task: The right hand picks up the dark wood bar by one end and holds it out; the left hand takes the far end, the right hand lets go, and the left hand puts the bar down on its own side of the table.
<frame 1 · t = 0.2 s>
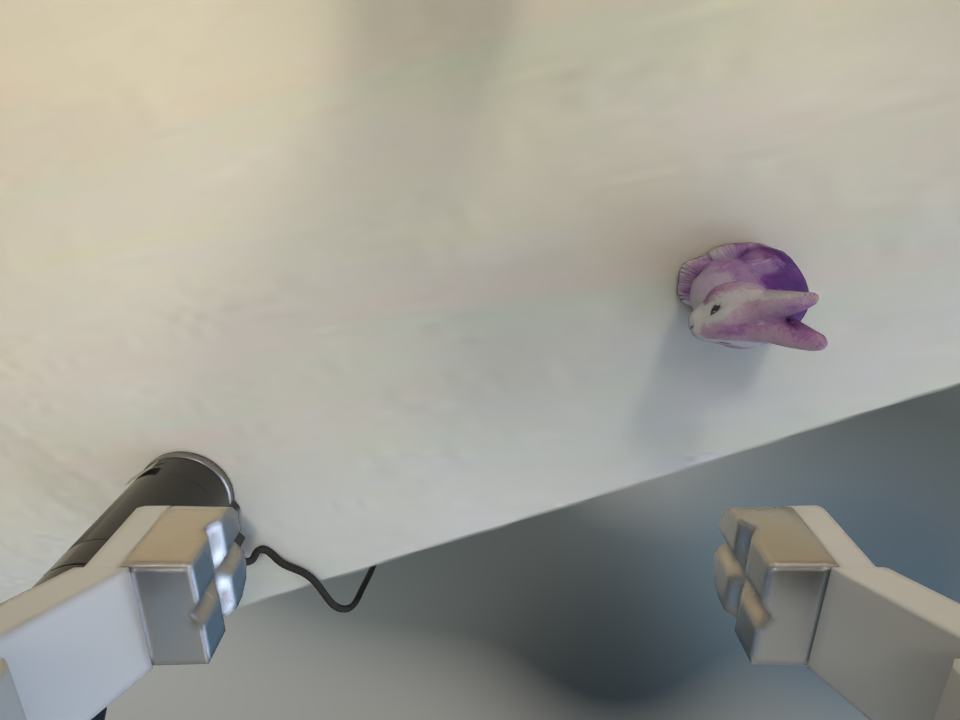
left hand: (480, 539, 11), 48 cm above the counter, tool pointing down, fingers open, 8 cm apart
figurine: (723, 287, 58), on the counter
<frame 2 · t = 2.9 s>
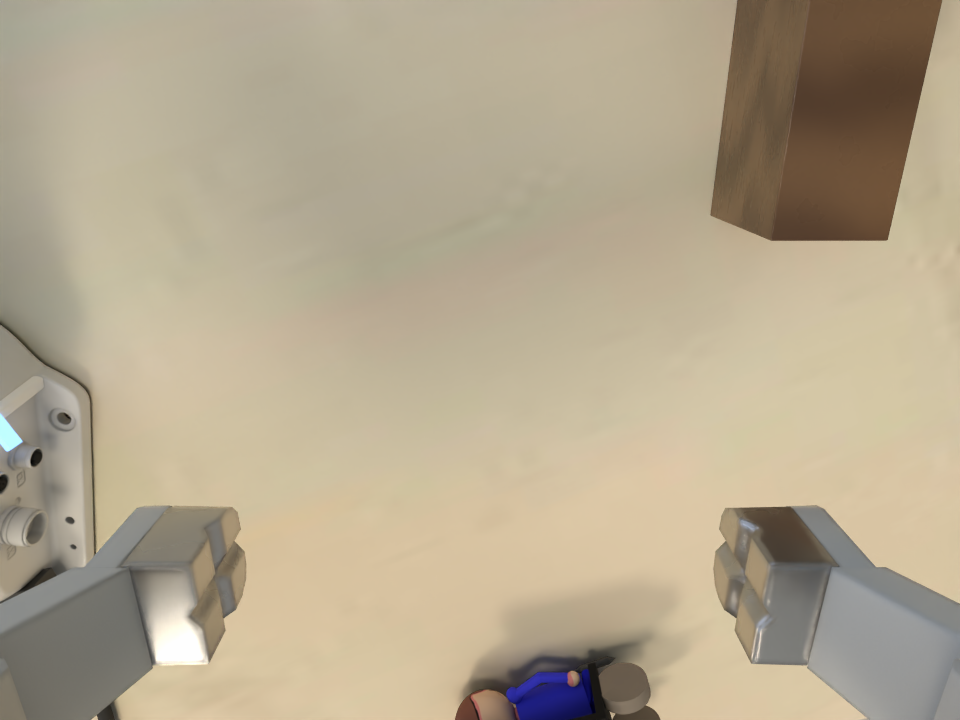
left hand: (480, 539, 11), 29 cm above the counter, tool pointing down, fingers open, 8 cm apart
figurine character: (548, 681, 50), on the counter
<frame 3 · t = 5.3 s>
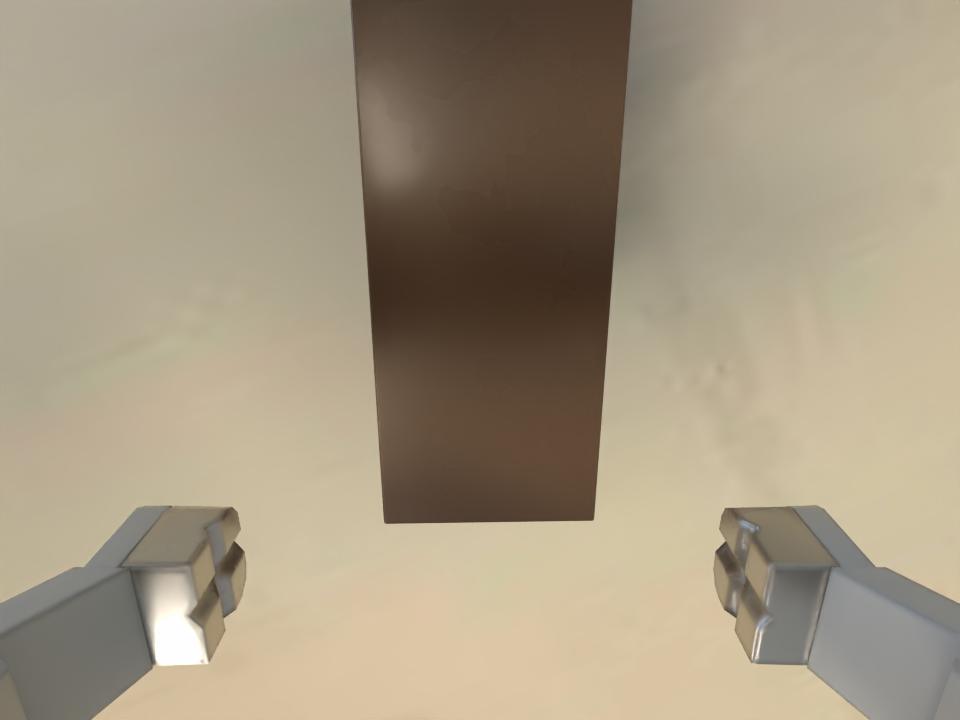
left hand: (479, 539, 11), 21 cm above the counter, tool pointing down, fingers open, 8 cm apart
bar: (481, 62, 20), point 8 cm above the counter, touching right hand
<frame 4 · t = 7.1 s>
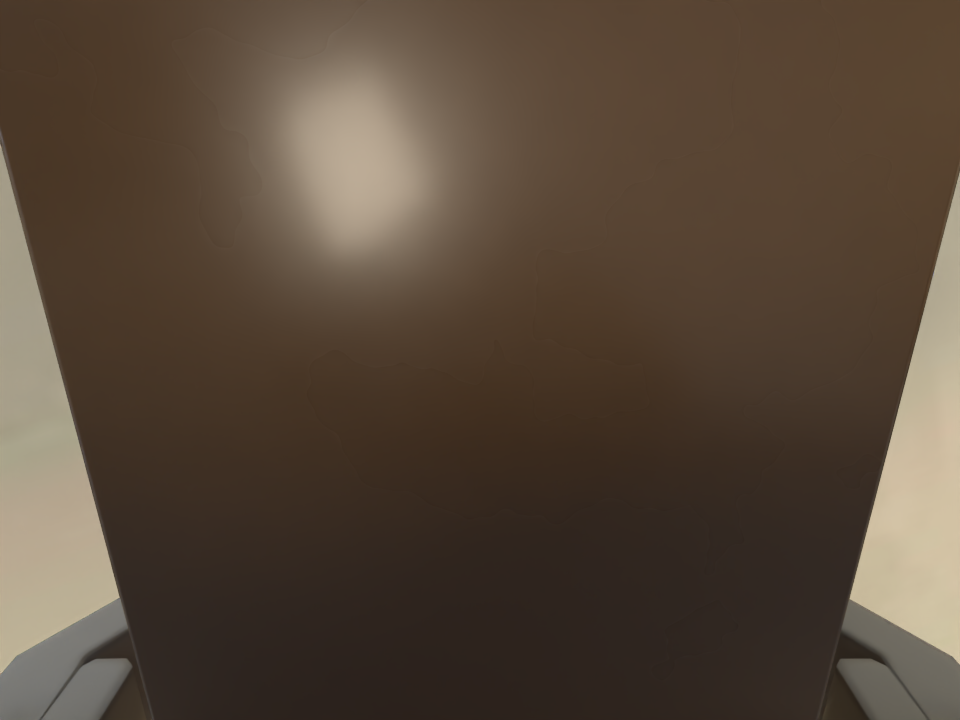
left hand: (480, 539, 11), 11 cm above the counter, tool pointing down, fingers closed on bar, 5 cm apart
bar: (480, 13, 11), point 8 cm above the counter, touching left hand, right hand
when the right hand's fingers open (12 cm above the counter, at t = 8.2 s): bar stays where it is, held by the left hand.
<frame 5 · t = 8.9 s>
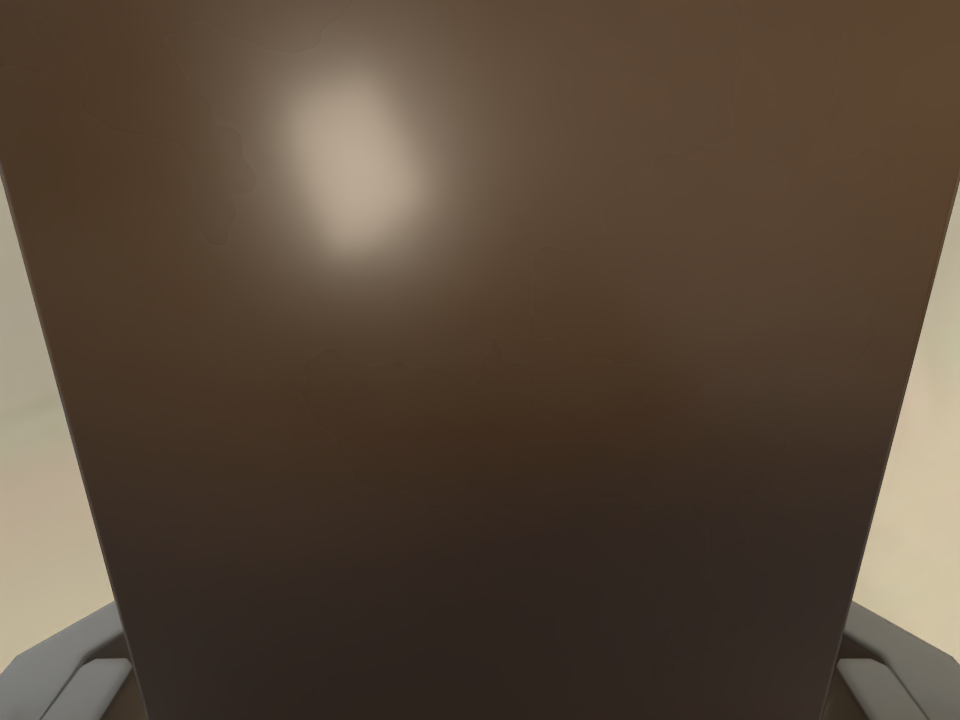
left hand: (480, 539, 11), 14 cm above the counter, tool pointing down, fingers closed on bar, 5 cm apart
bar: (479, 11, 11), point 11 cm above the counter, touching left hand
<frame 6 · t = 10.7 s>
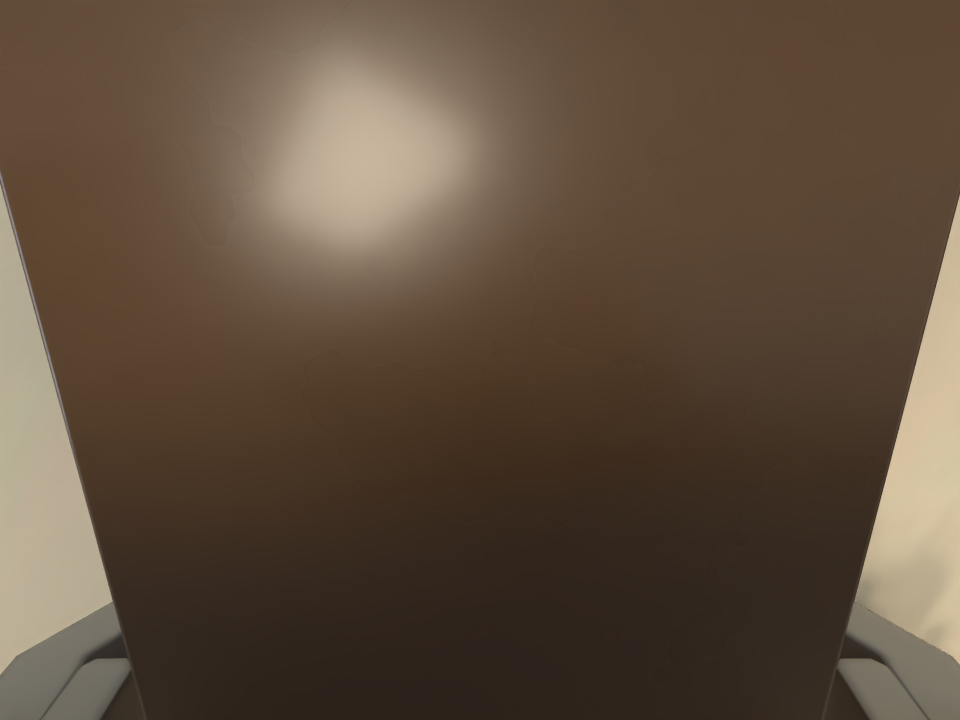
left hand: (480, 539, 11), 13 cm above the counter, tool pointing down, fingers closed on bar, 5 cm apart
bar: (479, 11, 11), point 10 cm above the counter, touching left hand
when the left hand's fingers open (4 cm above the counter, at t = 12.1 s): bar stays where it is, on the counter.
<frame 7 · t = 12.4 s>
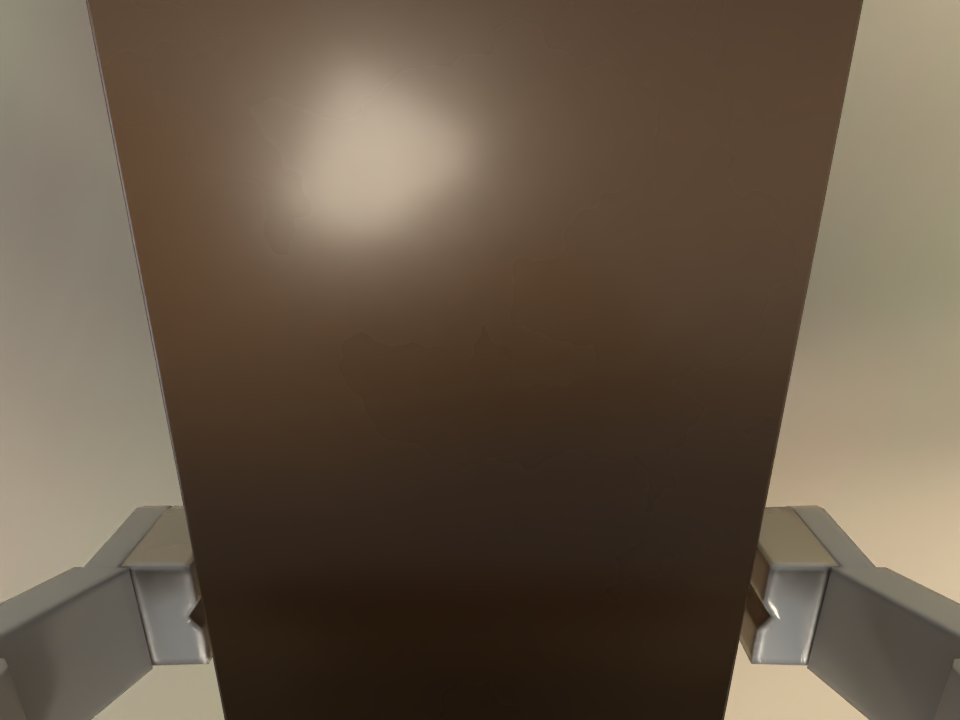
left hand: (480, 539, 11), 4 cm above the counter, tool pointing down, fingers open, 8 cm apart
bar: (478, 43, 12), on the counter
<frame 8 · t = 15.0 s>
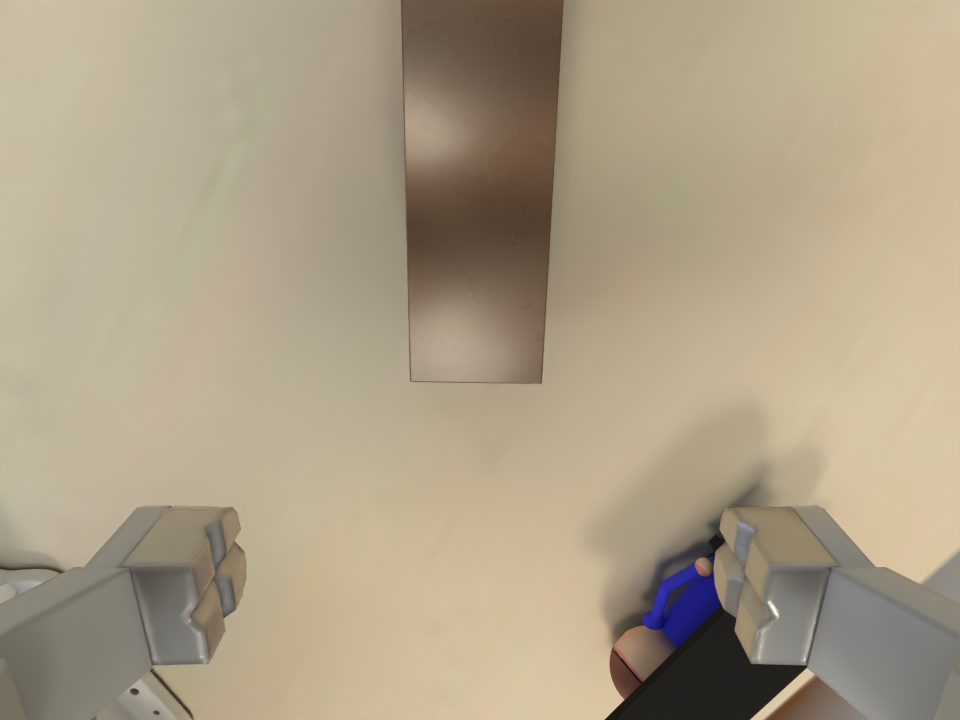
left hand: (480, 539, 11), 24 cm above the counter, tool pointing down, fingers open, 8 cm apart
figurine character: (693, 583, 40), on the counter
bar: (480, 90, 30), on the counter
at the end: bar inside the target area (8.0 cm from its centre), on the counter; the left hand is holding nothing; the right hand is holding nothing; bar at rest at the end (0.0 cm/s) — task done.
